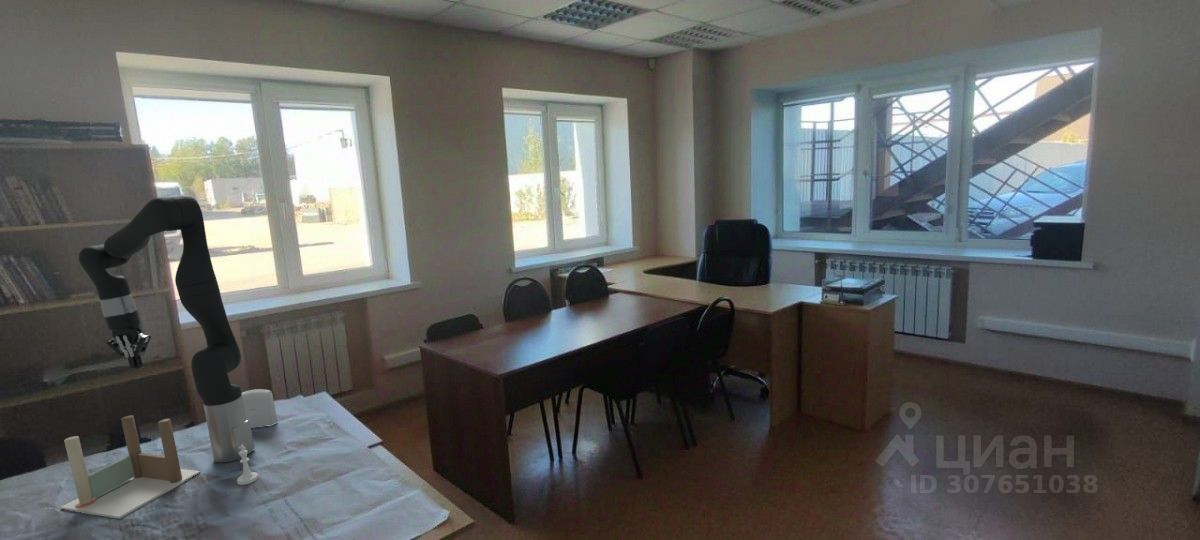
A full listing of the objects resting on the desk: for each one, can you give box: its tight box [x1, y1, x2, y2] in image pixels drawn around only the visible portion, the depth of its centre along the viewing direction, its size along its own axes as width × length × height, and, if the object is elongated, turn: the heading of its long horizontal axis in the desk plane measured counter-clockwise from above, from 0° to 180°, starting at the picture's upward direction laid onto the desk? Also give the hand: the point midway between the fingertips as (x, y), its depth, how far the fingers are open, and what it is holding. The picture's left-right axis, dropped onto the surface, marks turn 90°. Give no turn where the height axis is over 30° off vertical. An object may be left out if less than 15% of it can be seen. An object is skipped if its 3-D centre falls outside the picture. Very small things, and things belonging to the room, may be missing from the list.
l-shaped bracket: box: [64, 435, 135, 505], centre depth 143 cm, size 13×3×17 cm, turn 166°
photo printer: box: [241, 388, 278, 429], centre depth 180 cm, size 10×4×12 cm, turn 100°
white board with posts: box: [60, 414, 201, 520], centre depth 144 cm, size 20×20×18 cm
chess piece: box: [236, 445, 260, 486], centre depth 148 cm, size 5×5×10 cm
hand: (137, 367), depth 166 cm, fingers closed
